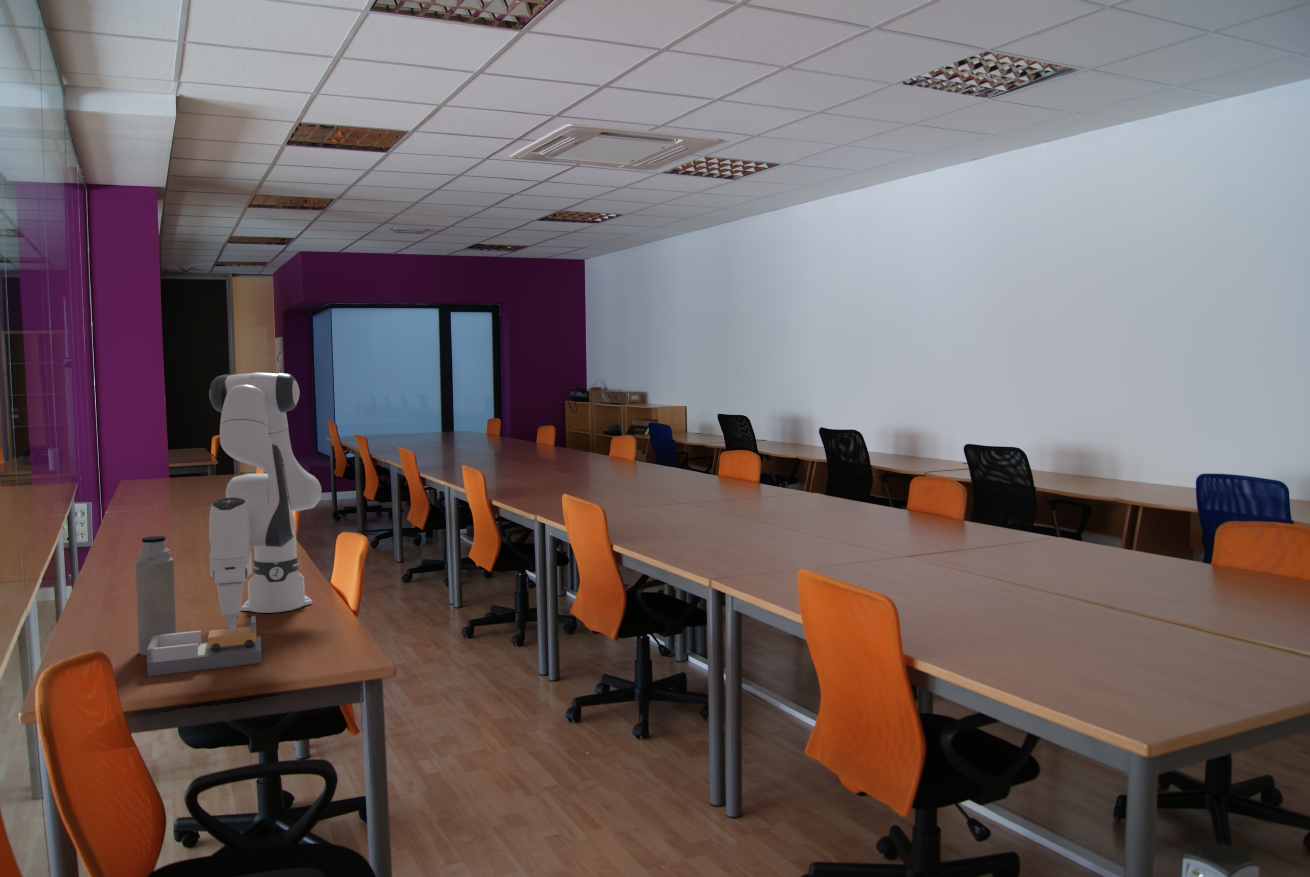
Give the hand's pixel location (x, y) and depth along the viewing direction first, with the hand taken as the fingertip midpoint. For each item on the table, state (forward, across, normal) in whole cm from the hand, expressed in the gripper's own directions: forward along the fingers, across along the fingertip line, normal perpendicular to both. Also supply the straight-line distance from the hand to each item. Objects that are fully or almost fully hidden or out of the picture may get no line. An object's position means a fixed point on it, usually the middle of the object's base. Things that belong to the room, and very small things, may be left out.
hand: (233, 624), depth 205 cm
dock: (+8, 0, -6) cm, 10 cm away
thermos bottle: (+8, -14, -17) cm, 23 cm away
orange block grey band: (+5, 0, 0) cm, 5 cm away
